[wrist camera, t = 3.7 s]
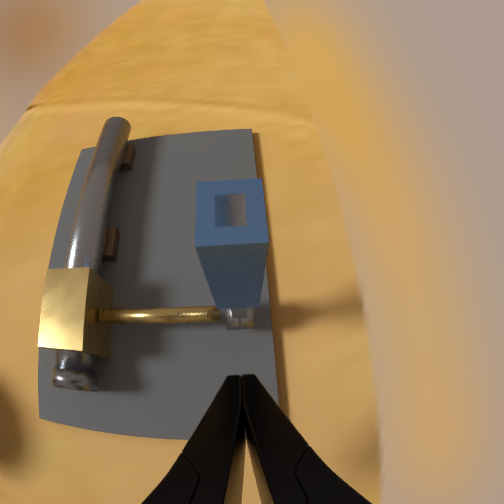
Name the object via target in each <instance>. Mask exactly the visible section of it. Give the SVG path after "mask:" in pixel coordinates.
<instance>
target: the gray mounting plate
mask: <svg viewBox="0 0 504 504" xmlns="http://www.w3.org/2000/svg"><path fill="white" fill-rule="evenodd" d="M126 145H134V147H135V150H136V154H135V159H134V163H133V167H132V170H128V171H121V172H119V175H118V179H117V183H116V188H115V192H114V197H113V202H112V207H111V212H110V217H109V222H108V228H109V227H116V228H117V229H118V230H119V232H120V239H119V247H118V255H117V261H104V262H102V267H101V276H100V277H101V278H103V279H104V280H105V281H106V282H107V283H108V284H110V285H111V286H112V287H113V288H114V294H113V307H112V308H163V307H193V306H215V302H214V299H213V296H212V294H211V291H210V288H209V286H208V283H207V280H206V277H205V274H204V272H203V269H202V266H201V263H200V260H199V257H198V255H197V252H196V249H195V214H196V186H197V182H204V181H219V180H235V179H256V178H257V173H256V164H255V155H254V146H253V137H252V129H235V130H218V131H205V132H193V133H183V134H174V135H165V136H157V137H150V138H143V139H136V140H130V141H127V144H126ZM95 148H96V147H91V148H87V149H82V150H81V153H80V156H79V158H78V161H77V164H76V167H75V170H74V172H73V175H72V178H71V181H70V185H69V188H68V191H67V194H66V197H65V201H64V204H63V208H62V211H61V215H60V219H59V223H58V227H57V231H56V235H55V239H54V244H53V248H52V253H51V258H50V263H49V268H48V269H62V268H64V266H65V261H66V255H67V250H68V245H69V240H70V235H71V231H72V226H73V222H74V218H75V214H76V210H77V206H78V202H79V199H80V195H81V191H82V188H83V184H84V181H85V178H86V175H87V171H88V168H89V165H90V162H91V159H92V156H93V153H94V150H95ZM220 310H221V322H207V323H176V324H112V325H111V359H106V358H95V374H98V392H91V391H80V390H72V389H65V388H59V387H54V386H52V368H55V351H52V350H48V349H45V348H42V347H39V362H38V397H39V417H40V419H44V420H48V421H52V422H56V423H60V424H64V425H69V426H74V427H78V428H84V429H89V430H94V431H100V432H107V433H114V434H121V435H129V436H138V437H149V438H162V439H183V440H189V439H190V438H191V436H192V434H193V433H194V431H195V429H196V428H197V426H198V424H199V423H200V421H201V419H202V418H203V416H204V414H205V413H206V411H207V409H208V408H209V406H210V404H211V403H212V401H213V399H214V398H215V396H216V394H217V392H218V391H219V389H220V387H221V386H222V384H223V382H224V380H225V379H226V377H227V376H228V375H241V376H242V375H243V374H255V375H256V376H257V377H258V379H259V380H260V381H261V383H262V384H263V386H264V387H265V388H266V390H267V391H268V392H269V394H270V395H271V396H272V398H273V399H274V400H275V402H276V403H277V404H278V406H279V400H278V388H277V377H276V365H275V354H274V343H273V332H272V321H271V310H270V300H269V290H268V279H267V269H266V267H265V273H264V280H263V286H262V293H261V300H260V306H259V307H253V310H254V329H246V330H229V331H227V328H226V318H225V309H220ZM245 431H246V430H245Z"/></svg>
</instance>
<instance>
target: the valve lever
mask: <svg viewBox="0 0 504 504" xmlns="http://www.w3.org/2000/svg"><path fill="white" fill-rule="evenodd" d="M268 246H269V237H268V228H267V219H266V211H265V202H264V194H263V185H262V178H256V179H235V180H219V181H204V182H197V186H196V214H195V249H196V252H197V255H198V257H199V260H200V263H201V266H202V269H203V272H204V274H205V277H206V280H207V283H208V286H209V288H210V291H211V294H212V296H213V299H214V302H215V305H216V307H217V309H225V318H226V328H227V331H229V330H246V329H254V310H253V307H259V306H260V300H261V293H262V286H263V280H264V273H265V267H266V260H267V253H268Z"/></svg>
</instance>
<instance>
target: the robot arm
mask: <svg viewBox="0 0 504 504" xmlns="http://www.w3.org/2000/svg"><path fill="white" fill-rule="evenodd" d="M245 430H246V431H245ZM246 439H247V444H248V449H249V453H250V458H251V462H252V466H253V470H254V474H255V478H256V483H257V487H258V491H259V495H260V499H261V502H262V504H372V503H370V502H369V501H368V500H366V499H365V498H364V497H363V496H361V495H360V494H359V493H358V492H356V491H355V490H354V489H353V488H352V487H350V486H349V485H348V484H347V483H346V482H344V481H343V480H342V479H341V478H340V477H339V476H338V475H336V474H335V473H334V472H333V471H332V470H331V469H330V468H329V467H328V466H327V465H326V464H325V463H324V462H323V461H322V460H321V458H320V457H319V456H318V455H317V454H316V453H315V451H314V450H313V449H312V448H311V447H310V446H308V443H307V442H306V441H305V439H304V438H303V437H302V435H301V434H300V433H299V432H298V430H297V429H296V428H295V427H294V425H293V424H292V423H291V421H290V420H289V419H288V418H287V416H286V415H285V414H284V412H283V411H282V410H281V408H280V407H279V406H278V404H277V403H276V402H275V400H274V399H273V398H272V396H271V395H270V394H269V392H268V391H267V390H266V388H265V387H264V386H263V384H262V383H261V381H260V380H259V379H258V377H257V376H256V375H255V374H243V375H242V376H241V375H228V376H227V377H226V379H225V380H224V382H223V384H222V386H221V387H220V389H219V391H218V392H217V394H216V396H215V398H214V399H213V401H212V403H211V404H210V406H209V408H208V409H207V411H206V413H205V414H204V416H203V418H202V419H201V421H200V423H199V424H198V426H197V428H196V429H195V431H194V433H193V434H192V436H191V438H190V439H189V441H188V442H187V444H186V446H185V447H184V449H183V451H182V453H181V454H180V455H179V457H178V458H177V460H176V462H175V463H174V464H173V466H172V467H171V469H170V470H169V472H168V473H167V475H166V476H165V477H164V478H163V480H162V481H161V482H160V483H159V484H158V486H157V487H156V488H155V489H154V490H153V491H152V492H151V494H150V495H149V496H148V497H147V498H146V499H145V500H144V501H143V502H142V503H141V504H241V502H242V489H243V475H244V462H245V448H246Z"/></svg>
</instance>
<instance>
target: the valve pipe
mask: <svg viewBox="0 0 504 504" xmlns="http://www.w3.org/2000/svg"><path fill="white" fill-rule="evenodd" d="M130 131H131V126H130V123H129V122H128V121H127V120H126V119H124V118H121V117H112V118H109V119H108V120H107V121H106V122H105V124H104V126H103V129H102V131H101V134H100V137H99V139H98V142H97V145H96V148H95V150H94V153H93V156H92V159H91V162H90V165H89V168H88V171H87V175H86V178H85V181H84V184H83V188H82V191H81V195H80V199H79V202H78V206H77V210H76V214H75V218H74V222H73V226H72V231H71V235H70V240H69V245H68V250H67V255H66V261H65V266H64V268H62V269H47V273H46V279H45V285H44V292H43V299H42V307H41V315H40V326H39V338H38V346H39V347H42V348H45V349H48V350H52V351H55V368H52V386H54V387H59V388H65V389H72V390H80V391H91V392H98V374H95V358H106V359H111V325H112V324H176V323H207V322H221V310H220V309H217V307H216V305H215V306H193V307H163V308H112V307H113V294H114V288H113V287H112V286H111V285H110V284H108V283H107V282H106V281H105V280H104V279H103V278H101V277H100V276H101V267H102V262H104V261H117V255H118V247H119V239H120V232H119V230H118V229H117V228H116V227H109V228H108V222H109V217H110V212H111V207H112V202H113V197H114V192H115V188H116V183H117V179H118V175H119V172H121V171H128V170H132V167H133V163H134V159H135V154H136V150H135V147H134V145H126V144H127V141H128V137H129V134H130Z"/></svg>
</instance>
